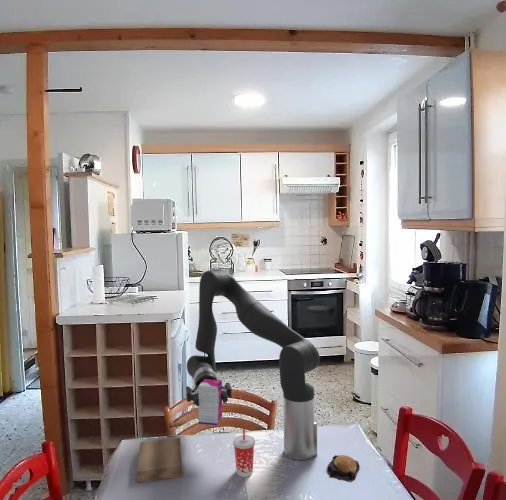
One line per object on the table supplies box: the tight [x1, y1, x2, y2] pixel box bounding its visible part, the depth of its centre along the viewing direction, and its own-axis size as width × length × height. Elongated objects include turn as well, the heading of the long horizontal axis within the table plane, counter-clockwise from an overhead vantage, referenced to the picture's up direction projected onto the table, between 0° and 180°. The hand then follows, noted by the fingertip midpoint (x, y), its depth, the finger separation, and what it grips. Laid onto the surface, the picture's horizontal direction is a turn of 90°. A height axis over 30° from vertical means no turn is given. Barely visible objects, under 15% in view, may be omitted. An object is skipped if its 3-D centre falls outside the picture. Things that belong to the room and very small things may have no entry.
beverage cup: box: [232, 422, 256, 478], centre depth 115 cm, size 6×6×14 cm
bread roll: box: [326, 454, 361, 482], centre depth 116 cm, size 11×8×4 cm
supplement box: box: [198, 379, 223, 426], centre depth 123 cm, size 6×6×12 cm
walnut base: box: [136, 437, 183, 483], centre depth 121 cm, size 12×16×3 cm
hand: (211, 401), depth 121 cm, fingers closed on supplement box, 7 cm apart
